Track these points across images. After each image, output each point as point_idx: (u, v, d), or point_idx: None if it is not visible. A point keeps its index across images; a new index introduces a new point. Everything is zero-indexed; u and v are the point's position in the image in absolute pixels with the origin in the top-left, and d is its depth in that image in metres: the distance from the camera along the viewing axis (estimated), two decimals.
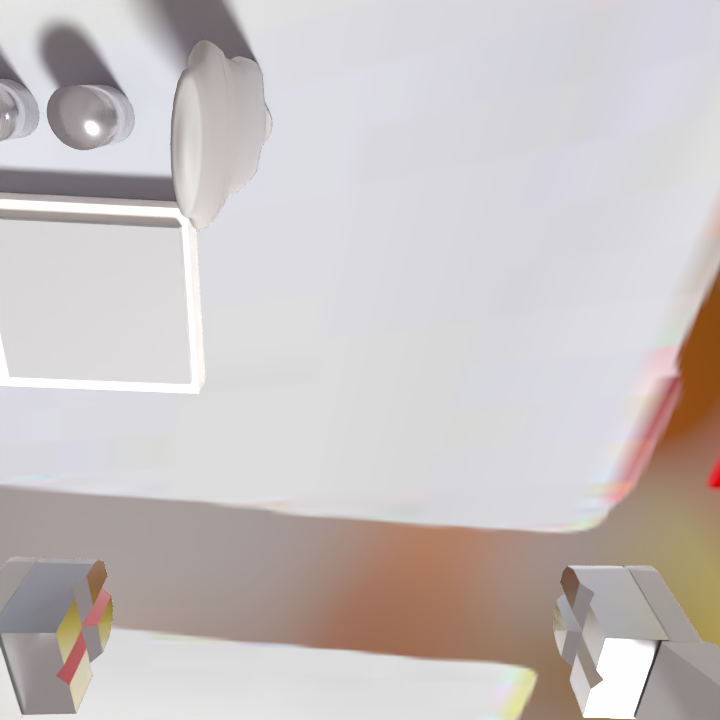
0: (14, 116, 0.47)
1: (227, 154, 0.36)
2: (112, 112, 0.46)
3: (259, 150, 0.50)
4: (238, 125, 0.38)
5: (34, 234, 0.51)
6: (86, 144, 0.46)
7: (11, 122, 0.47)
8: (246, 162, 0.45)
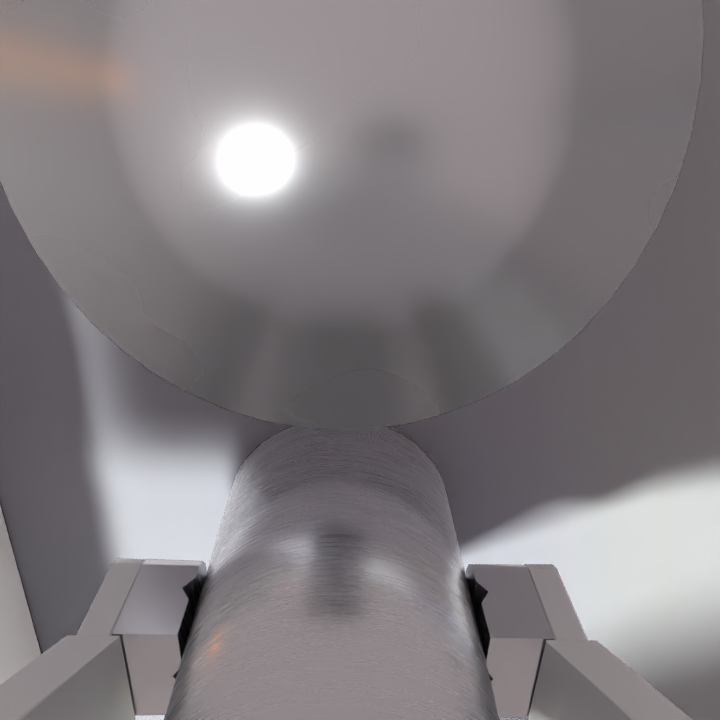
0: None
1: None
2: None
3: None
4: None
5: None
6: None
7: None
8: None
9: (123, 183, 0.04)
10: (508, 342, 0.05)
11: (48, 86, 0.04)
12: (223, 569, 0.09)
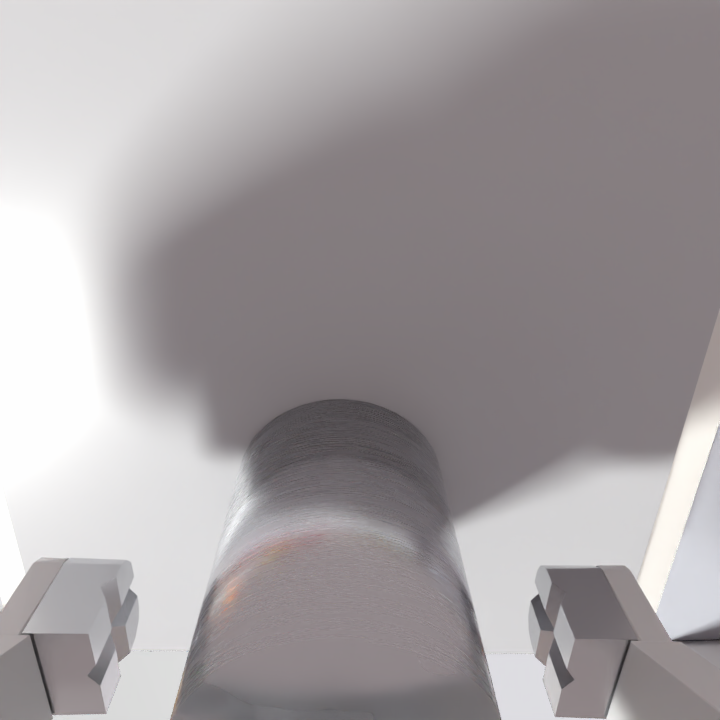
0: None
1: None
2: None
3: None
4: None
5: (696, 177, 0.11)
6: None
7: None
8: None
9: None
10: None
11: None
12: (237, 532, 0.10)
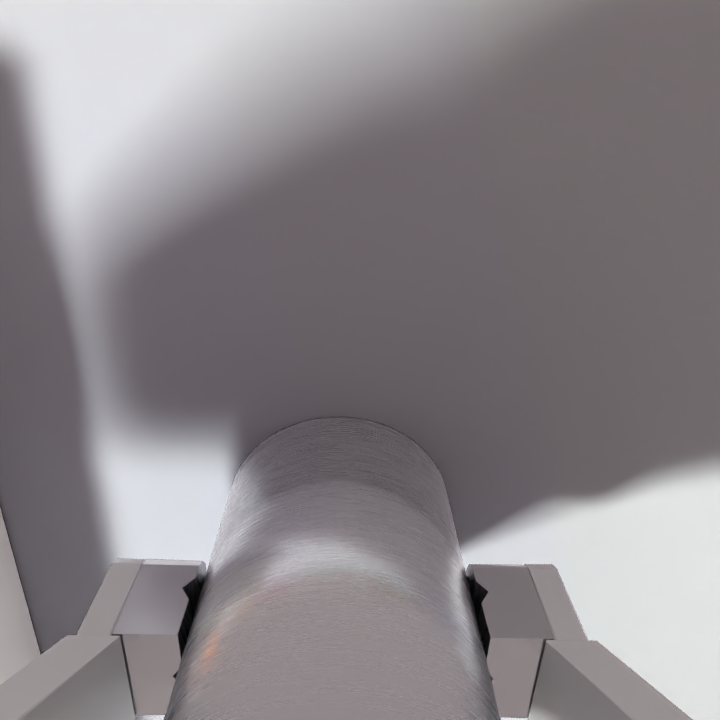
0: None
1: None
2: None
3: None
4: None
5: None
6: None
7: None
8: None
9: None
10: None
11: None
12: None
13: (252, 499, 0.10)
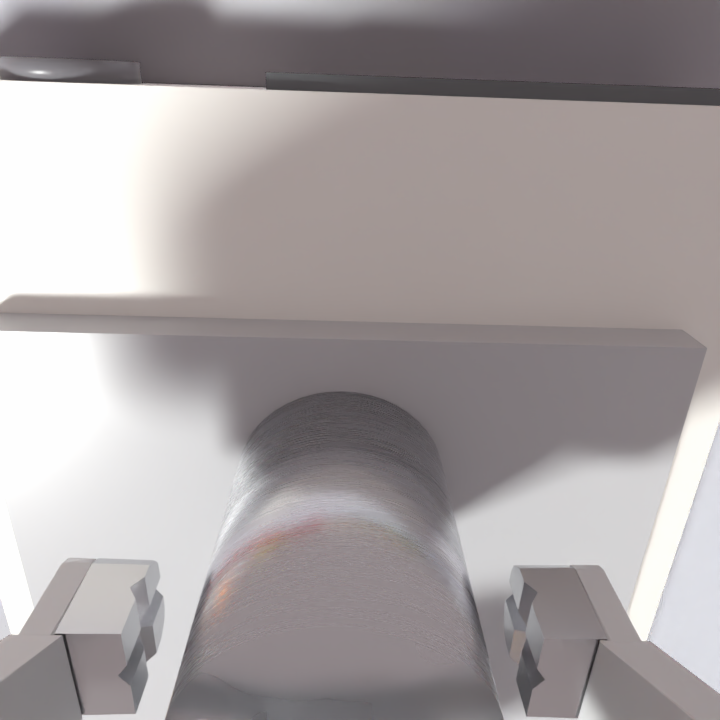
0: None
1: None
2: None
3: None
4: None
5: (604, 527, 0.14)
6: None
7: None
8: None
9: None
10: None
11: None
12: None
13: (261, 464, 0.11)
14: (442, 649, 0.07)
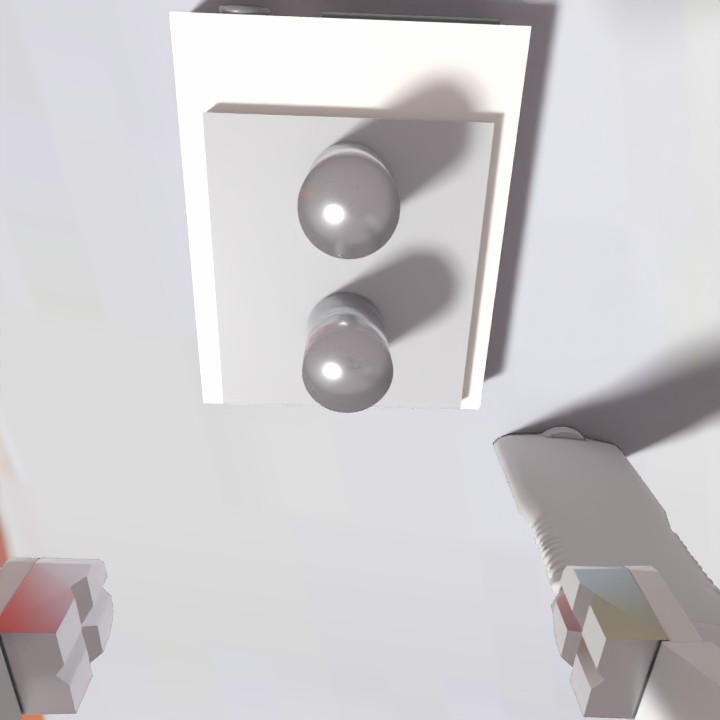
0: None
1: None
2: None
3: None
4: None
5: (462, 213, 0.33)
6: (310, 369, 0.30)
7: None
8: None
9: (316, 217, 0.27)
10: (376, 243, 0.27)
11: (307, 204, 0.27)
12: (325, 316, 0.32)
13: (320, 156, 0.30)
14: (379, 165, 0.26)
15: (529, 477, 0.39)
